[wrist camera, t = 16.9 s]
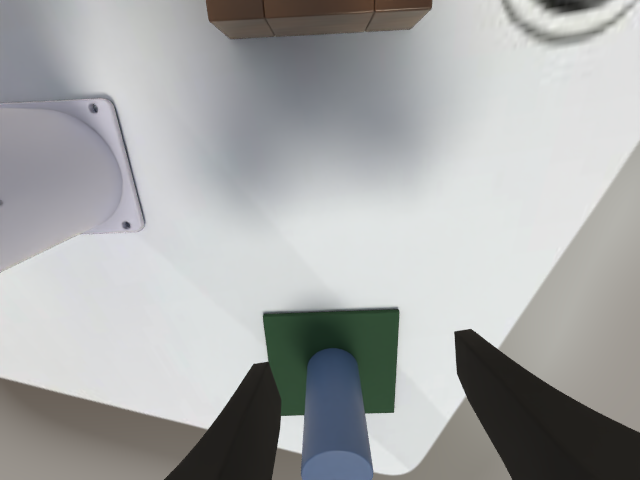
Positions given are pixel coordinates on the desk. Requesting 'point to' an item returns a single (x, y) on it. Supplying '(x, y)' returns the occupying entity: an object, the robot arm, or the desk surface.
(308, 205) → the desk surface
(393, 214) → the desk surface
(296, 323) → the mat
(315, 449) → the peg
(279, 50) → the desk surface
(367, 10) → the holder
